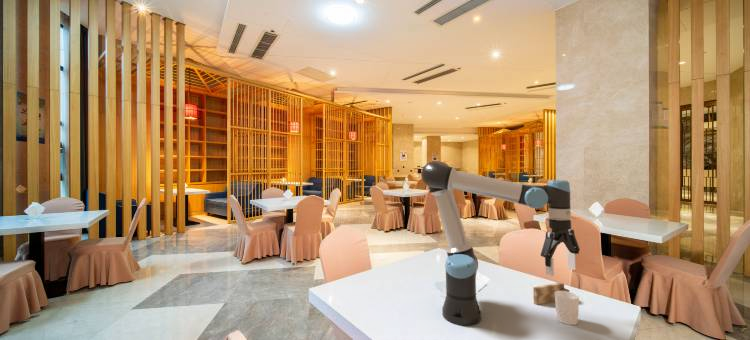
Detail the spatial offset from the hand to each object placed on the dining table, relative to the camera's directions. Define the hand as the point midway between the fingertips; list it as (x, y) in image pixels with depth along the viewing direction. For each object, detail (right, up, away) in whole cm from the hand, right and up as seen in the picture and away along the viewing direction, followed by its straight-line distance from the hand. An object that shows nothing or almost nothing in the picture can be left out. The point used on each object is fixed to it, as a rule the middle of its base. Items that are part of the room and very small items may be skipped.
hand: (561, 271), depth 116 cm
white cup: (0, -18, -4) cm, 18 cm away
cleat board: (+3, -18, +12) cm, 22 cm away
